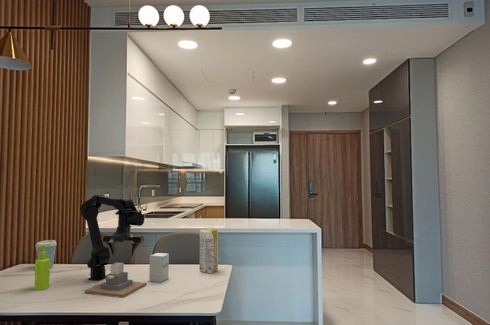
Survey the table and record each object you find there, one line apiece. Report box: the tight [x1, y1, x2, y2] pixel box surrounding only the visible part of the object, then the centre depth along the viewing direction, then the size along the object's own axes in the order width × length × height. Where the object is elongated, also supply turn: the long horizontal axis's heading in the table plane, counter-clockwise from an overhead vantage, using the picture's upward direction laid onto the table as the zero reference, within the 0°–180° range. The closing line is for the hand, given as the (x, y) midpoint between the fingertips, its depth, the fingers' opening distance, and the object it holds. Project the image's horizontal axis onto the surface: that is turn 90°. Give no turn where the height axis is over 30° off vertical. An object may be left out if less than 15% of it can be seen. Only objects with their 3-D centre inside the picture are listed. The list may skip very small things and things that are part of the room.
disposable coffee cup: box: [35, 239, 58, 269], centre depth 200 cm, size 11×11×15 cm
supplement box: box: [148, 252, 170, 283], centre depth 177 cm, size 7×7×13 cm
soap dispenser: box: [34, 244, 52, 291], centre depth 163 cm, size 6×7×20 cm
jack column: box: [110, 262, 125, 275], centre depth 162 cm, size 4×4×10 cm
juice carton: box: [199, 226, 219, 274], centre depth 194 cm, size 9×8×24 cm
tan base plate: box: [84, 271, 148, 298], centre depth 162 cm, size 20×18×7 cm
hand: (122, 256), depth 172 cm, fingers open, 9 cm apart
